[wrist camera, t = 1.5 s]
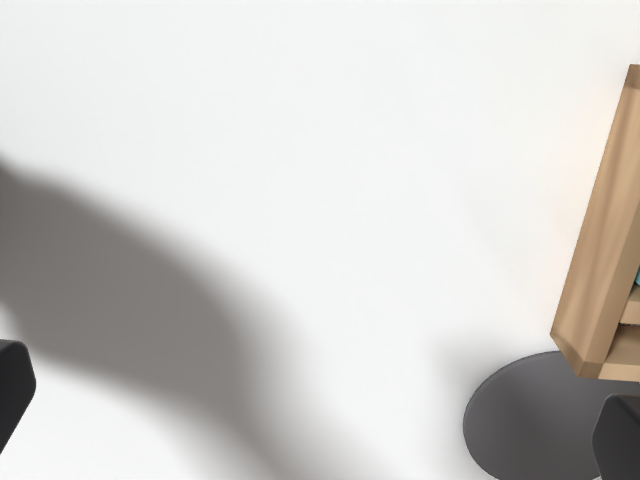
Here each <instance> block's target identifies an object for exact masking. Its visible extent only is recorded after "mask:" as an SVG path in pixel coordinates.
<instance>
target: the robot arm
mask: <svg viewBox="0 0 640 480" xmlns="http://www.w3.org/2000/svg"><path fill="white" fill-rule="evenodd" d="M35 390H36V378H35V375H34V371H33V367H32V363H31V360H30V356H29V352H28V349H27V346H26V345H25V344H24V343H23V342H20V341H15V340H4V339H0V454H1V453H2V451H3V449H4V447H5V446H6V444H7V442H8V440H9V439H10V437H11V435H12V433H13V432H14V430H15V428H16V426H17V425H18V423H19V421H20V419H21V418H22V416H23V414H24V412H25V411H26V409H27V407H28V405H29V404H30V402H31V400H32V398H33V396H34V393H35ZM591 443H592V450H593V454H594V457H595V460H596V463H597V466H598V469H599V472H600V475H601V478H602V480H640V396H636V395H626V394H611V395H609V396H608V397H607V398H606V399H605V401H604V403H603V406H602V409H601V411H600V414H599V417H598V419H597V422H596V424H595V427H594V430H593V433H592V439H591Z"/></svg>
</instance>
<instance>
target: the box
mask: <svg viewBox="0 0 640 480" xmlns="http://www.w3.org/2000/svg"><path fill="white" fill-rule="evenodd" d="M639 266H640V65H634V64H630V67H629V70H628V73H627V77H626V80H625V83H624V87H623V90H622V94H621V97H620V100H619V104H618V107H617V110H616V114H615V117H614V120H613V124H612V127H611V130H610V134H609V137H608V141H607V144H606V147H605V151H604V154H603V157H602V161H601V164H600V167H599V171H598V174H597V178H596V181H595V184H594V188H593V191H592V194H591V198H590V201H589V204H588V208H587V211H586V215H585V218H584V221H583V225H582V228H581V231H580V235H579V238H578V241H577V245H576V248H575V252H574V255H573V258H572V262H571V265H570V268H569V272H568V275H567V278H566V282H565V285H564V288H563V292H562V295H561V299H560V302H559V305H558V309H557V312H556V315H555V319H554V322H553V325H552V329H551V332H550V336H551V337H552V339H553V340H554V342H555V343H556V345H557V346H558V348H559V349H560V351H561V352H562V354H563V355H564V357H565V358H566V359H567V361H568V362H569V364H570V365H571V367H572V368H573V370H574V371H575V373H576V374H577V376H578V377H580V378H594V379H608V380H622V381H637V382H640V326H630V325H618V323H619V321H620V323H626V324H640V285H639V284H637V283H636V282H635V281H634V279H635V277H636V274H637V271H638V268H639Z"/></svg>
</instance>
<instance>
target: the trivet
mask: <svg viewBox="0 0 640 480" xmlns="http://www.w3.org/2000/svg"><path fill="white" fill-rule="evenodd" d="M611 394H626V395H636V396H640V385H639V383H638V382H637V381H622V380H608V379H594V378H580V377H578V376H577V374H576V373H575V371H574V370H573V368H572V367H571V365H570V364H569V362H568V361H567V359H566V358H565V357H564V355H563V354H562V352H561V351H551V352H545V353H540V354H535V355H532V356H528V357H525V358H522V359H520V360H517V361H515V362H513V363H511V364H509V365H507V366H505V367H503V368H501V369H500V370H498V371H497V372H496V373H494V374H493V375H491V376H490V377H489V378H488V379H487V380H486V381H484V382H483V383H482V385H481V386H480V387H479V388H478V389H477V390H476V391H475V393H474V394H473V396H472V397H471V399H470V401H469V403H468V405H467V407H466V411H465V414H464V420H463V433H464V437H465V441H466V444H467V448H468V450H469V452H470V454H471V456H472V457H473V459H474V460H475V462H476V463H477V464H478V465H479V466H480V467H481V468H482V469H483V470H485V471H486V472H487V473H488V474H490V475H492V476H493V477H495V478H497V479H499V480H592V479H594V478H596V477H599V476H601V475H600V472H599V469H598V466H597V463H596V460H595V457H594V454H593V450H592V443H591V439H592V433H593V430H594V427H595V424H596V422H597V419H598V417H599V414H600V411H601V409H602V406H603V403H604V401H605V399H606V398H607V397H608V396H609V395H611Z"/></svg>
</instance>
